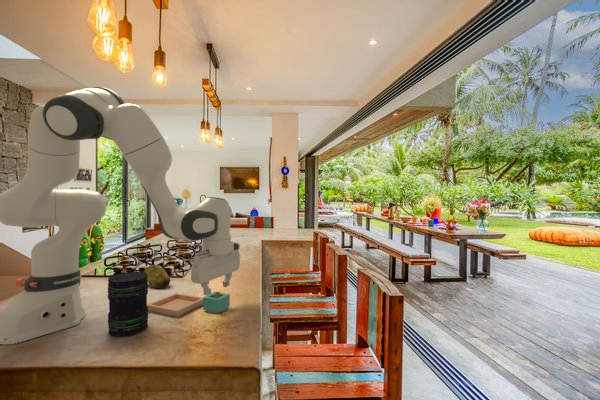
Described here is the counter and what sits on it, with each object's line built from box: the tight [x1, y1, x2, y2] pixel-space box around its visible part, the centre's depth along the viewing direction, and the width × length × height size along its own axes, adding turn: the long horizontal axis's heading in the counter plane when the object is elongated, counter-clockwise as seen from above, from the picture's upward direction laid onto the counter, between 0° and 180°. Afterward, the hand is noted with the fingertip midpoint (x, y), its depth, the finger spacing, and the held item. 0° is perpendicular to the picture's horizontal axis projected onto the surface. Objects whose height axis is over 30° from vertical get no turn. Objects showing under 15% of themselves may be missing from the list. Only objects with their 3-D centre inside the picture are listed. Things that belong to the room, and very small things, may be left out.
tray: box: [147, 292, 204, 319], centre depth 105 cm, size 13×13×2 cm
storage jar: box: [107, 271, 149, 338], centre depth 88 cm, size 10×10×15 cm
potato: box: [143, 264, 171, 289], centre depth 128 cm, size 8×13×8 cm, turn 37°
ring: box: [202, 292, 231, 314], centre depth 103 cm, size 6×6×4 cm
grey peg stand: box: [204, 291, 229, 314], centre depth 103 cm, size 7×7×6 cm
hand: (217, 290), depth 102 cm, fingers open, 8 cm apart
